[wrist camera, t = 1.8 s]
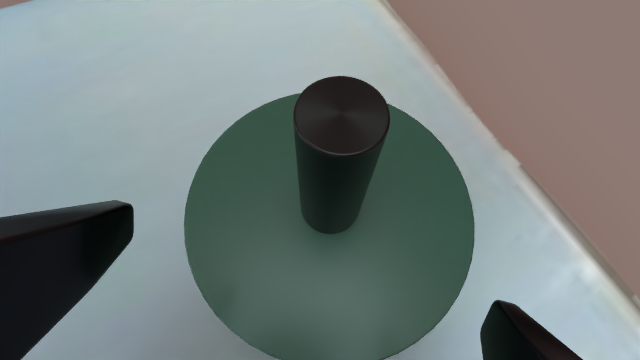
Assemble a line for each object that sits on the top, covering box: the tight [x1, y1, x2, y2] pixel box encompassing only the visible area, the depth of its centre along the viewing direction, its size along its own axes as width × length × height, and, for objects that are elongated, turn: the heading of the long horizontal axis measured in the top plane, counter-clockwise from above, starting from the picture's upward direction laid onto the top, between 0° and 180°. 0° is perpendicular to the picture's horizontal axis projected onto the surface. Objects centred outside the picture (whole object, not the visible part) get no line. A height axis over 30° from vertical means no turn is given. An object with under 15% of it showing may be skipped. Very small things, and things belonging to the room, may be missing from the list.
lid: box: [184, 76, 474, 360], centre depth 13 cm, size 13×13×8 cm
